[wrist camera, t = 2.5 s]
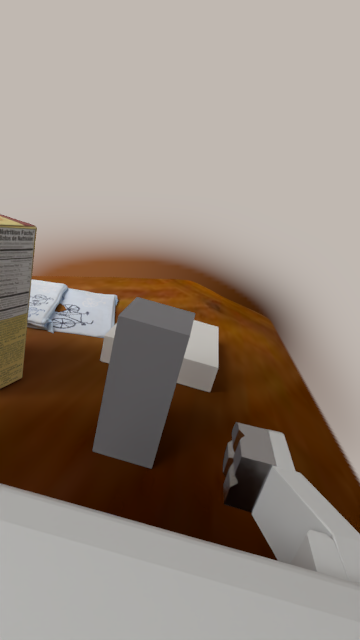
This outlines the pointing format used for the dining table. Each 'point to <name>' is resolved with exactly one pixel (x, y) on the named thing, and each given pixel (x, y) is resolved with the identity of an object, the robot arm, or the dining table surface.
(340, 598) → the robot arm
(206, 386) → the white block
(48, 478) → the dining table surface
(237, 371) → the dining table surface
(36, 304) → the folded bicycle print cloth
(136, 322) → the tall block
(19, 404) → the dining table surface
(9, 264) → the candy box
